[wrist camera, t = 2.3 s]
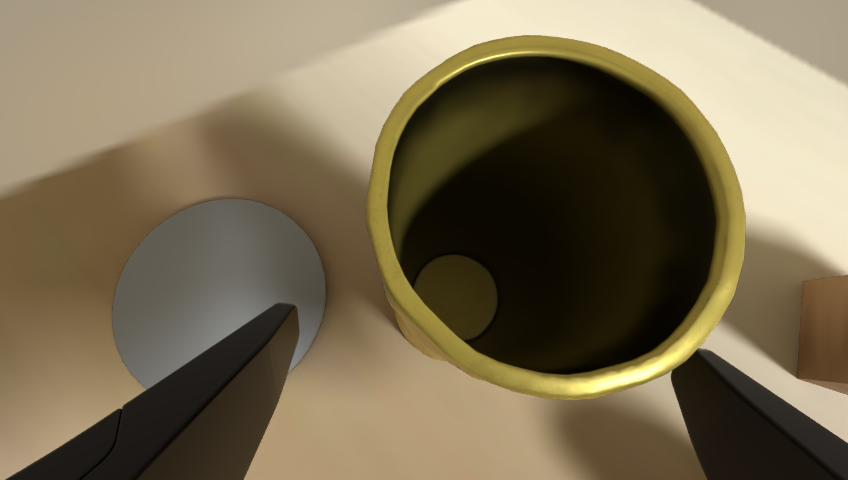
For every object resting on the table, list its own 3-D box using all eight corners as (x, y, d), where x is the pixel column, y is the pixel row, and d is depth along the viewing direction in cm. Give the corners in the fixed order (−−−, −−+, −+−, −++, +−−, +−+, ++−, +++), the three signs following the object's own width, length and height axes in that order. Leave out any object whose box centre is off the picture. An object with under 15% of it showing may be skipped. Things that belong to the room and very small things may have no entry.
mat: (223, 453, 17) (216, 457, 16) (78, 314, 18) (67, 313, 18) (367, 280, 19) (365, 278, 18) (227, 167, 20) (221, 162, 20)
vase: (407, 375, 18) (375, 506, 4) (382, 253, 19) (297, 42, 6) (528, 346, 18) (877, 373, 4) (495, 229, 20) (679, -22, 6)
